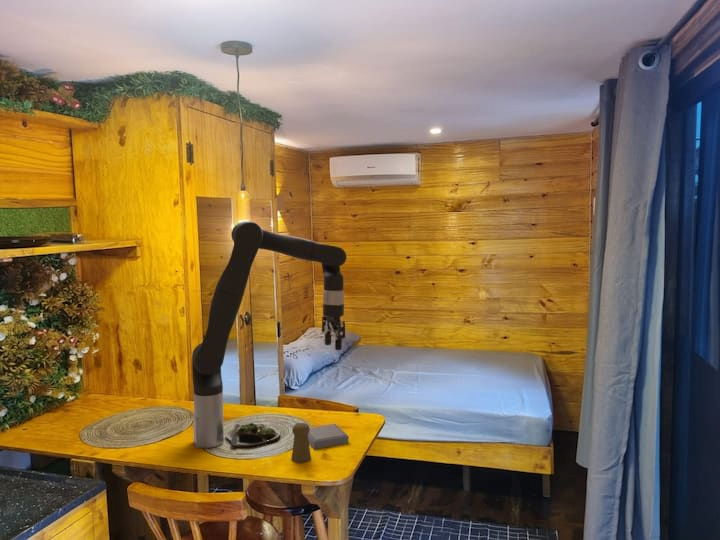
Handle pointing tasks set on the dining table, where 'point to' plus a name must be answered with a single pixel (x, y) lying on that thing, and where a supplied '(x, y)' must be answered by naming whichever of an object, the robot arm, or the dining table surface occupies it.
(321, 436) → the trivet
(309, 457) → the brown pepper mill
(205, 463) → the dining table surface
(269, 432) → the salad plate
